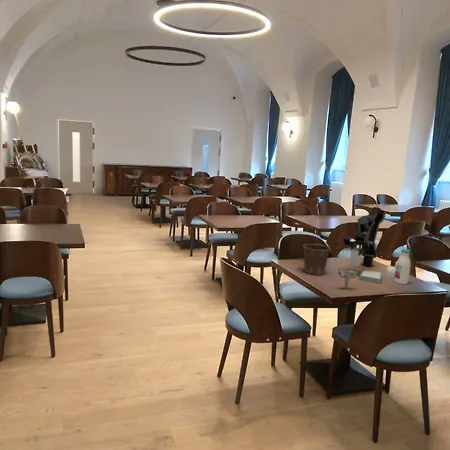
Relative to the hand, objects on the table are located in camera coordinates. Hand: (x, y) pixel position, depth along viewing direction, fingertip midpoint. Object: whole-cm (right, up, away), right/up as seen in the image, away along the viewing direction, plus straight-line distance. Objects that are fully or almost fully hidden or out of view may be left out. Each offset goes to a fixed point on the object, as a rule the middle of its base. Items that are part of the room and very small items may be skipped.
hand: (355, 254), depth 266 cm
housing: (0, -6, +2) cm, 7 cm away
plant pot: (-24, -11, +3) cm, 27 cm away
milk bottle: (+26, -17, -5) cm, 31 cm away
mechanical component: (-12, -17, -24) cm, 32 cm away
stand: (+9, -14, -1) cm, 17 cm away
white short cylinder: (+24, -14, +6) cm, 28 cm away
